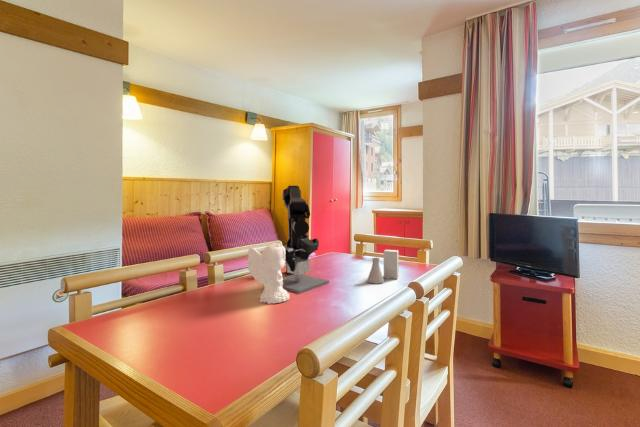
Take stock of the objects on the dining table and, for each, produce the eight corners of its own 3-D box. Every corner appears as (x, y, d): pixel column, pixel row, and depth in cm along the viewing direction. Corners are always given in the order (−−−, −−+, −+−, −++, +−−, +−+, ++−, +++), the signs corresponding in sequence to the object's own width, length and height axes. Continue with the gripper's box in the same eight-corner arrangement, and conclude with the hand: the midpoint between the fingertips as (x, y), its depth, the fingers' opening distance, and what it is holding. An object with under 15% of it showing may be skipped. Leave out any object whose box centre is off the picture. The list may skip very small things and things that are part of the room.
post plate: (266, 284, 136) (266, 267, 135) (296, 275, 150) (296, 260, 149) (299, 293, 125) (299, 275, 124) (328, 282, 139) (329, 266, 138)
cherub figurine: (264, 307, 110) (264, 247, 108) (246, 298, 119) (245, 242, 118) (296, 299, 119) (296, 243, 117) (277, 290, 128) (276, 239, 126)
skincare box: (398, 277, 148) (399, 250, 147) (397, 279, 144) (397, 251, 143) (384, 275, 151) (385, 248, 150) (382, 278, 147) (383, 250, 146)
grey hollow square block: (287, 272, 137) (287, 260, 136) (297, 269, 142) (297, 257, 141) (298, 275, 133) (298, 262, 132) (309, 271, 138) (309, 259, 137)
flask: (383, 279, 144) (384, 256, 143) (384, 284, 137) (385, 260, 136) (366, 279, 145) (366, 256, 144) (367, 283, 138) (367, 260, 137)
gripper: (297, 236, 123) (297, 278, 125) (327, 231, 138) (327, 268, 139) (276, 233, 130) (276, 273, 132) (307, 229, 145) (307, 264, 146)
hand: (298, 269), depth 137 cm, fingers closed on grey hollow square block, 6 cm apart
